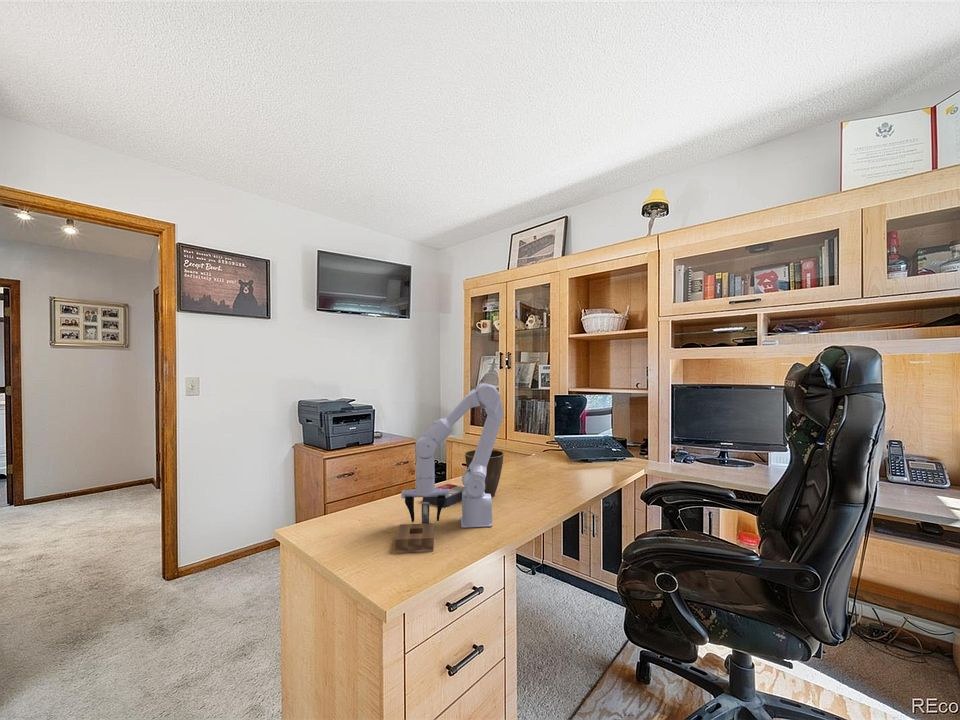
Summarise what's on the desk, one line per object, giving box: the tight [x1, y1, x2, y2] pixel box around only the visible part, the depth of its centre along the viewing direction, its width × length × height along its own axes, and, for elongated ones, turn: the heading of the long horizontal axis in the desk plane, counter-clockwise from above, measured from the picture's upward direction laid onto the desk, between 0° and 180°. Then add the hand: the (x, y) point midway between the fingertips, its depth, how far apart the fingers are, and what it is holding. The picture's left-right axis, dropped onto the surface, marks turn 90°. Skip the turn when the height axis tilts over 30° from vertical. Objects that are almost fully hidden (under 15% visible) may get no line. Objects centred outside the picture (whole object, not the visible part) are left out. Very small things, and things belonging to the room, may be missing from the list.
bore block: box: [394, 522, 436, 554], centre depth 110 cm, size 10×10×4 cm
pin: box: [421, 501, 430, 524], centre depth 122 cm, size 2×2×7 cm
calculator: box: [422, 483, 465, 509], centre depth 146 cm, size 11×4×15 cm
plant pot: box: [464, 449, 505, 498], centre depth 150 cm, size 15×15×16 cm
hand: (425, 520), depth 122 cm, fingers open, 7 cm apart
